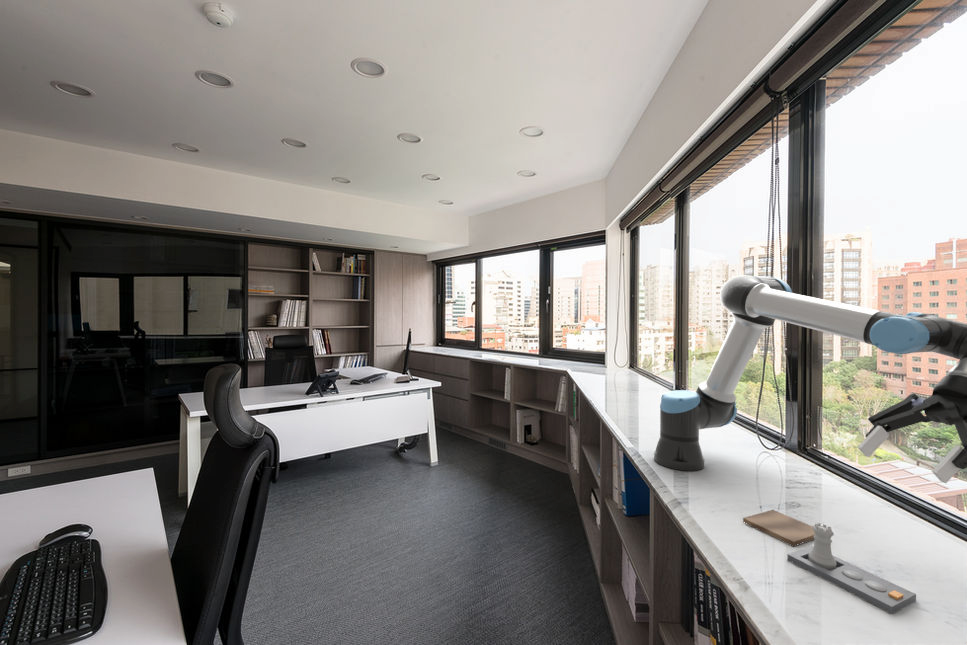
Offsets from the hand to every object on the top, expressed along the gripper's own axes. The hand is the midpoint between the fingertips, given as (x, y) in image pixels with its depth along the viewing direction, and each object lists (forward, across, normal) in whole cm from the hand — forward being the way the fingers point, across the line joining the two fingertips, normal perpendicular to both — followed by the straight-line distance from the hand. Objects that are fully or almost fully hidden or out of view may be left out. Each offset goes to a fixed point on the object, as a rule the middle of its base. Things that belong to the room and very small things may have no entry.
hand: (897, 463), depth 80 cm
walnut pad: (+22, +15, -7) cm, 27 cm away
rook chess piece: (+25, +1, -4) cm, 25 cm away
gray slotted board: (+24, -3, -5) cm, 24 cm away
